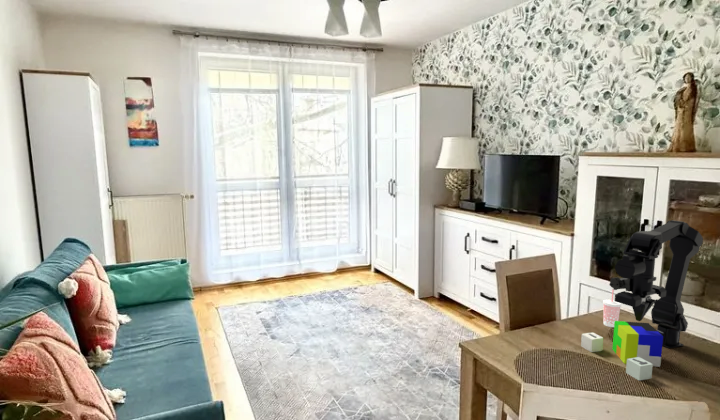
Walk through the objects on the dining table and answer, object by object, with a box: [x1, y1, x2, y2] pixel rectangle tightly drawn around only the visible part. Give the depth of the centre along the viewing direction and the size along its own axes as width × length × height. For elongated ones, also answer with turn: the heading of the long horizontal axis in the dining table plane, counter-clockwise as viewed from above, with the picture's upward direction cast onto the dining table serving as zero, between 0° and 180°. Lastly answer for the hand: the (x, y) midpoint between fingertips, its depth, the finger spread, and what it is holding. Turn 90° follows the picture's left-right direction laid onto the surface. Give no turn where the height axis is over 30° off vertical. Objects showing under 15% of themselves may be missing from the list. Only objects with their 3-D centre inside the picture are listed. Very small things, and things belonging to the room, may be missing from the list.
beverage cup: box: [602, 288, 622, 328], centre depth 161 cm, size 6×6×14 cm
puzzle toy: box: [611, 320, 663, 368], centre depth 136 cm, size 10×10×10 cm
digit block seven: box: [625, 357, 654, 381], centre depth 126 cm, size 4×4×5 cm
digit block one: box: [580, 332, 604, 353], centre depth 143 cm, size 4×4×5 cm
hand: (638, 320), depth 135 cm, fingers closed
